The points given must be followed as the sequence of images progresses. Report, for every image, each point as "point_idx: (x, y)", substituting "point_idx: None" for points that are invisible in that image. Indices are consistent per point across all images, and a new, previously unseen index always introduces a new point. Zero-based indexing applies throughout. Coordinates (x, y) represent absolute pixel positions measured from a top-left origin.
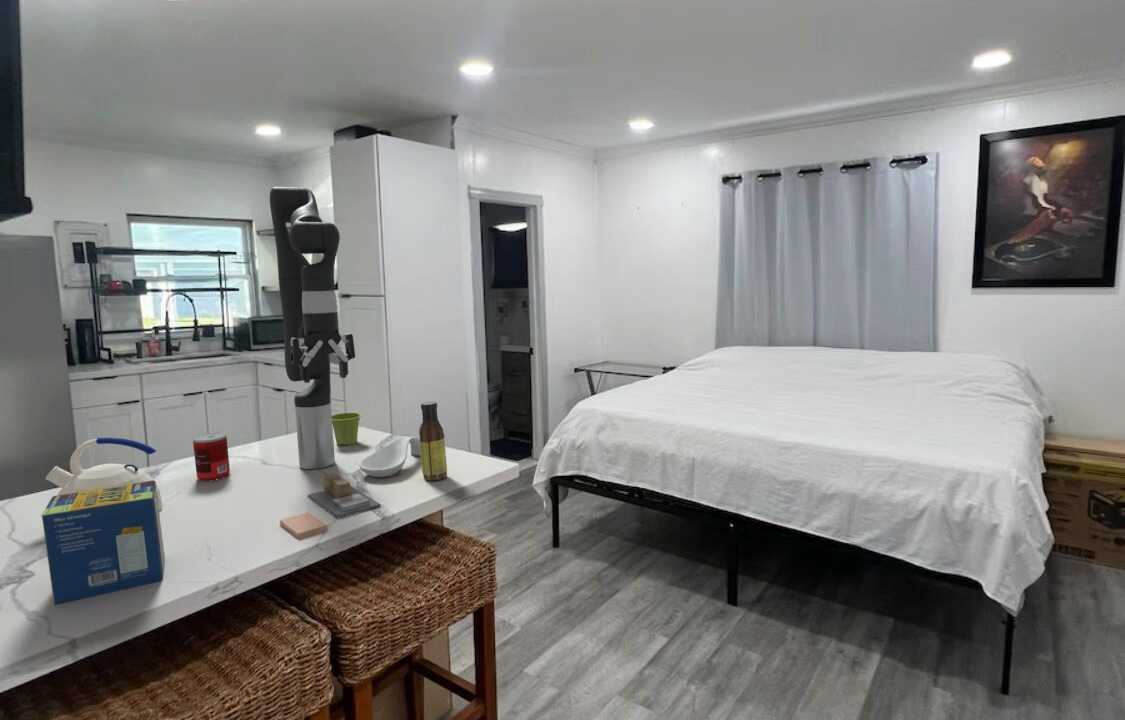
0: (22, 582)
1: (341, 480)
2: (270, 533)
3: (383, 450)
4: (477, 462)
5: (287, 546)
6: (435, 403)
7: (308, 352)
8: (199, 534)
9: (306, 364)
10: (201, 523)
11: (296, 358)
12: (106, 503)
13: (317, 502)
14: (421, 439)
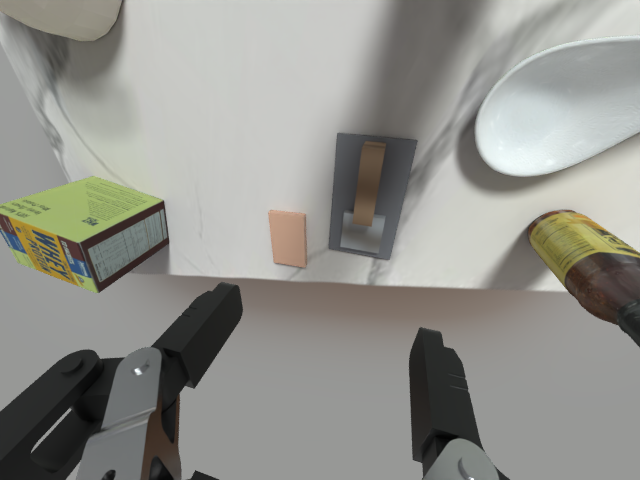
0: (60, 152)
1: (368, 204)
2: (256, 224)
3: (626, 48)
4: None
5: (263, 265)
6: None
7: (123, 476)
8: (189, 161)
9: (172, 402)
10: (189, 120)
11: (81, 435)
12: (60, 277)
13: (334, 180)
14: (573, 274)
